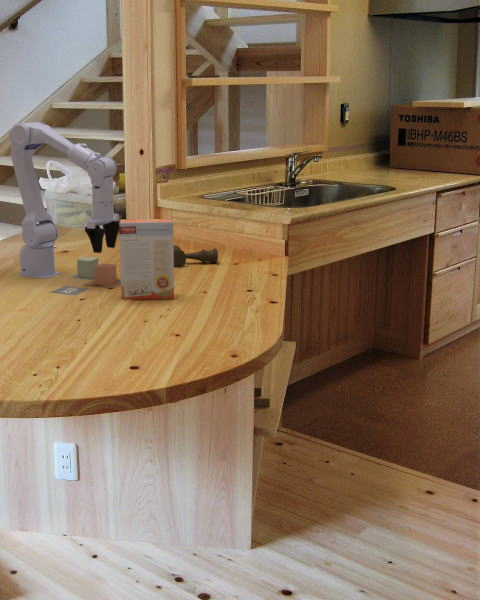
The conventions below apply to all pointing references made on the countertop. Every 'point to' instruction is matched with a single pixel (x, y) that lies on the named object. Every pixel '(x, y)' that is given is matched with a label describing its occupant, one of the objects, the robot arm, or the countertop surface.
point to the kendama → (194, 256)
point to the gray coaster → (82, 277)
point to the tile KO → (69, 290)
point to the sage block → (86, 267)
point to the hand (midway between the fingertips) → (104, 250)
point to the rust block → (105, 274)
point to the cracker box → (146, 259)
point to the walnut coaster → (104, 285)
